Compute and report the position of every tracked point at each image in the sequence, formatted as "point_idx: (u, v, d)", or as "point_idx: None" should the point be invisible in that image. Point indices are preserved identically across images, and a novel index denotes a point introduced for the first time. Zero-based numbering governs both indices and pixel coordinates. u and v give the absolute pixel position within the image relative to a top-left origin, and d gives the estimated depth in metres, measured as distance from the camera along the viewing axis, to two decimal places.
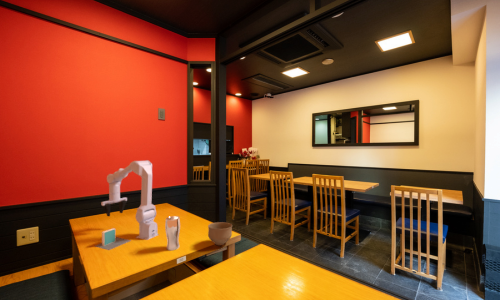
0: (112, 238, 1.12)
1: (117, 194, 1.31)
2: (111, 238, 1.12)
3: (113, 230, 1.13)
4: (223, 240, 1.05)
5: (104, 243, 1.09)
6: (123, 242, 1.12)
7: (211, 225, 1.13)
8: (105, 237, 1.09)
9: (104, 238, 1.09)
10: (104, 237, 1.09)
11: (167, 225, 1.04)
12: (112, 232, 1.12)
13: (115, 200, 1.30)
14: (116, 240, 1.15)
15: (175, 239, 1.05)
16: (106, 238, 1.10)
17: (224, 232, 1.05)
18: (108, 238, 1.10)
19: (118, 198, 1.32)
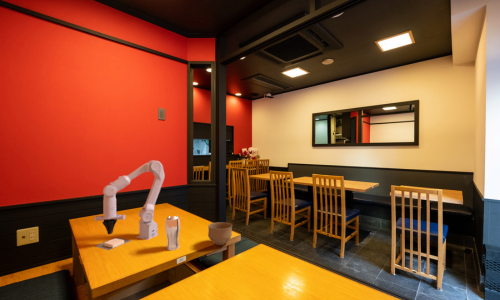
0: None
1: (107, 210, 1.09)
2: None
3: None
4: (223, 240, 1.05)
5: (106, 245, 1.08)
6: None
7: (211, 225, 1.13)
8: None
9: (109, 246, 1.07)
10: (109, 246, 1.07)
11: (167, 225, 1.04)
12: None
13: (104, 217, 1.08)
14: None
15: (175, 239, 1.05)
16: None
17: (224, 232, 1.05)
18: None
19: (108, 215, 1.09)
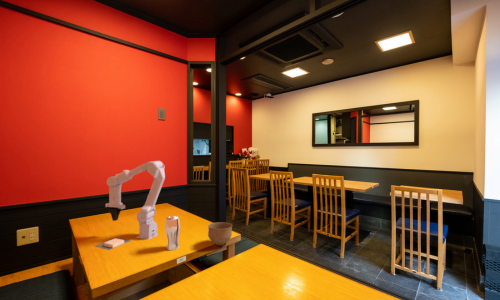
0: None
1: (110, 199, 1.20)
2: None
3: None
4: (223, 240, 1.05)
5: (106, 245, 1.08)
6: None
7: (211, 225, 1.13)
8: None
9: (109, 246, 1.07)
10: (109, 246, 1.07)
11: (167, 225, 1.04)
12: None
13: (109, 205, 1.20)
14: None
15: (175, 239, 1.05)
16: None
17: (224, 232, 1.05)
18: None
19: (111, 204, 1.19)
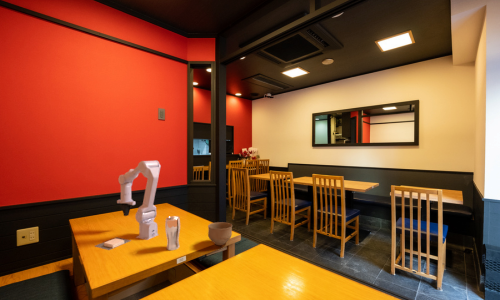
0: None
1: (121, 196, 1.29)
2: None
3: None
4: (223, 240, 1.05)
5: (106, 245, 1.08)
6: None
7: (211, 225, 1.13)
8: None
9: (109, 246, 1.07)
10: (109, 246, 1.07)
11: (167, 225, 1.04)
12: None
13: (120, 201, 1.29)
14: None
15: (175, 239, 1.05)
16: None
17: (224, 232, 1.05)
18: None
19: (122, 200, 1.29)
